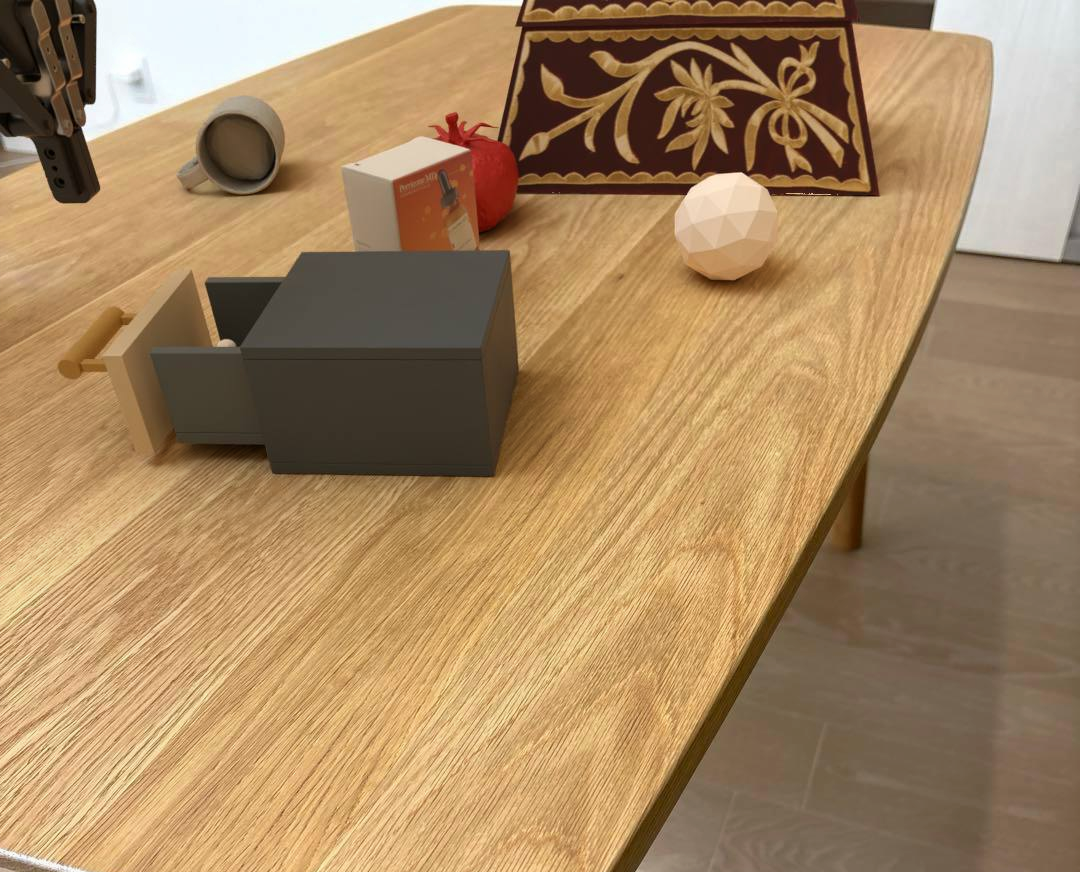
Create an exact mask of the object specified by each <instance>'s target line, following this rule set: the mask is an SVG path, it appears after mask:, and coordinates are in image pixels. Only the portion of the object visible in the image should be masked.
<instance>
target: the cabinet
mask: <svg viewBox="0 0 1080 872" xmlns="http://www.w3.org/2000/svg"><path fill="white" fill-rule="evenodd" d="M284 277H285V278H284V280H283V281H282V283H281V285H280V286H279V288H278V289H277V291H276V292H275V294H274V295H273V297H272V298H271V300H270V301H269V303H268V305H267V306H266V308H265V309H264V311H263V312H262V314H261V315H260V317H259V318H258V320H257V321H256V323H255V324H254V326H253V328H252V329H251V331H250V332H249V334H248V335H247V337H246V338H245V340H244V341H243V343H242V344H241V346H240V350H241V354H242V358H243V363H244V367H245V370H246V374H247V378H248V382H249V386H250V390H251V394H252V397H253V401H254V405H255V409H256V413H257V417H258V421H259V425H260V428H261V432H262V436H263V440H264V444H265V445H264V447H265V451H266V455H267V459H268V463H269V466H270V469H271V473H272V474H303V475H304V474H307V475H308V474H312V475H314V474H316V475H371V476H372V475H373V476H374V475H375V476H376V475H378V476H439V477H441V476H444V477H445V476H446V477H494V476H495V473H496V469H497V465H498V460H499V456H500V452H501V447H502V443H503V438H504V434H505V430H506V425H507V422H508V417H509V412H510V409H511V408H510V407H511V405H512V399H513V397H514V396H513V394H514V392H515V391H514V390H515V386H516V383H517V378H518V374H519V369H520V368H519V353H518V352H519V351H518V340H517V327H516V314H515V313H516V311H515V300H514V299H515V298H514V289H513V287H514V286H513V274H512V262H511V251H510V249H493V250H492V249H487V250H486V249H483V250H481V249H480V250H471V251H361V252H355V251H301V252H300V253H299V255H298V257H297V258H296V260H295V261H294V263H293V265H292V266H291V268H290V269H289V271H288V272H287V274H286V275H285V276H284Z"/></svg>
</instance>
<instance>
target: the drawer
mask: <svg viewBox="0 0 1080 872" xmlns="http://www.w3.org/2000/svg"><path fill="white" fill-rule="evenodd" d="M285 277H286V276H208V277H207V278H206V280H205V281H204V286H205V290H206V293H207V297H208V301H209V304H210V309H211V312H212V316H213V320H214V323H215V326H216V331H217V334H218V338H219V342H220V341H221V340H224V339H229V340H232V341H233V342H235V344H236V346H237V347H216V346H214V345H213V342H212V338H211V334H210V329H209V327H208V323H207V320H206V316H205V312H204V309H203V304H202V301H201V298H200V294H199V291H198V287H197V284H196V280H195V276H194V273H193V269H174V270H173V271H172V272H171V273H170V275H169V276H168V277H167V278H166V279H165V280H164V282H163V283H162V284H161V285H160V287H159V288H158V289H157V290H156V291H155V292H154V293H153V294H152V296H151V297H150V298H149V299H148V300H147V301H146V303H145V304H144V306H143V307H142V308H141V309H140V310H139V312H137V313H132V312H131V313H129V312H128V313H126V312H124V310H123V309H122V308H120V307H118V306H114V305H111V306H108V307H107V308H106V309H104V311H102V313H101V315H99V317H98V318H97V319H96V320H95V321H94V322H93V323H92V324H91V325H90V327H89V328H88V329H87V330H86V331H85V332H84V333H83V334H82V335H81V337H79V339H78V340H77V341H76V342H75V343H74V344H73V345H72V347H71V348H70V349H69V350H68V351H67V352H66V353H65V355H63V357H61V359H60V360H59V361H58V363H57V370H58V372H59V373H60V374H61V375H62V377H64V378H66V379H69V380H77V379H79V378H80V376H81V375H82V374H83V373H107V374H108V377H109V379H110V382H111V385H112V388H113V391H114V393H115V396H116V399H117V402H118V404H119V408H120V410H121V413H122V416H123V419H124V422H125V425H126V427H127V430H128V433H129V436H130V439H131V441H132V445H133V447H134V451H135V453H136V454H138V455H139V454H141V455H145V454H146V455H155V454H156V453H157V452H158V450H159V448H160V447H161V445H162V444H163V442H164V441H165V439H166V438H167V436H168V435H169V433H170V432H171V431H172V429H173V431H174V434H175V437H176V439H177V440H176V441H177V442H178V444H181V445H182V444H184V445H185V444H187V445H188V444H189V445H191V444H192V445H194V444H195V445H199V444H200V445H203V444H204V445H264V446H265V444H264V440H263V436H262V432H261V428H260V425H259V421H258V417H257V413H256V409H255V405H254V401H253V397H252V394H251V390H250V386H249V382H248V378H247V374H246V370H245V367H244V363H243V358H242V354H241V350H240V346H241V344H242V343H243V341H244V340H245V338H246V337H247V335H248V334H249V332H250V331H251V329H252V328H253V326H254V324H255V323H256V321H257V320H258V318H259V317H260V315H261V314H262V312H263V311H264V309H265V308H266V306H267V305H268V303H269V301H270V300H271V298H272V297H273V295H274V294H275V292H276V291H277V289H278V288H279V286H280V285H281V283H282V281H283V280H284V278H285ZM123 326H126V327H125V328H124V329H123V331H121V333H120V334H119V335H118V337H117V338H115V340H114V341H113V342H112V344H110V346H109V347H108V348H107V349H106V351H104V353H103V354H102V356H101V357H102V358H97V357H98V356H99V354H100V353H101V352H102V351H103V350H104V348H106V346H107V345H108V344H109V342H111V340H112V339H113V338H114V337H115V336H116V335H117V333H118V332H119V331H120V330H121V329H122V327H123Z"/></svg>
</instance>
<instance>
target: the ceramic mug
mask: <svg viewBox="0 0 1080 872" xmlns="http://www.w3.org/2000/svg"><path fill="white" fill-rule="evenodd" d="M285 145H286V134H285V129H284V126H283V122H282V119H281V118H280V116H279V115H278V113H277V112H276V110H274V108H273V107H272V106H271V105H270V104H268V103H267V102H265V101H264V100H263V99H260V98H258V97H256V96H253V95H244V94H243V95H234V96H231V97H228V98H226V99H223V100H222V101H221V102H220V103H219V104H217V106H215V107H214V109H213V110H212V112H211V113H210V114H209V116H208V117H207V118H206V119H205V121H203V123H202V125H201V127H199V130H198V132H197V135H196V140H195V154H196V155H195V156H193V157H192V158H191V159H190V160H189V161H187V162H186V163H185V164H184V165H182V167H181V168H180V169H179V170H178V171H177V172H176V178H177V179H178V180H179V182H180V183H181V185H182V186H183V187H184V188H185V189H192V188H196V187H198V186H199V185H201V184H203V183H205V182H206V181H208V180H209V181H210V182H211V183H212V184H213V185H215V186H216V187H217V188H219V189H221V190H223V191H225V192H227V193H230V194H235V195H252V194H255V193H256V194H257V193H258V192H261V191H262V190H264V189H266V188H267V187H268V186H270V185H271V183H272V182H273V181H274V179H276V176H277V175H278V172H279V168H280V167H281V166H280V165H281V161H282V157H283V154H284V150H285Z"/></svg>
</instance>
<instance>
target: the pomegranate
mask: <svg viewBox="0 0 1080 872" xmlns="http://www.w3.org/2000/svg"><path fill="white" fill-rule="evenodd" d="M444 119H445V120H444V121H445V123H446V124H447V125H448V127H447V128H448V131H447V130H446V129H444V128H443V127H442V126H441V125H437V124H432V125H427V128H434V129H435V130H436V132H437V133H438V135H439V136H437V137H430V138H431V139H435V140H438V141H442V142H446V143H449V144H453V145H457V146H460V147H464V148H467V149H470V150H471V153H472V164H473V177H474V187H475V198H476V210H477V221H478V232H479V233H483V232H486V231H488V230H490V229H494V228H495V226H496V225H497V224H498V223H499V222H500V221H502V220H503V219H504V218H505V217H506V216H507V215H508V214H509V212H510V210H512V209H513V207H514V203H515V199H516V195H517V193H516V192H517V187H518V169H517V163H516V161H515V156H514V154H513V152H512V151H511V149H510V148H509V147H508V146H507V145H506V144H504V143H502V142H499V141H497V139H496V140H495V139H492V138H490V137H488V135H484V134H479V133H477V131H478V130H479V129H480V128H481V127H483V128H491V129H500V126H493V125H491V124H488V123H486V122H481V121H480V122H479V123H477V124H475V125H474V126H472V127H470V128H469V129H468V130H465V125H467V124H468V122H467V121H465V120H462V121H461V122H460V124H459V125H458V121H459V113H458V112H457V111H454V112H449V113H448V114H446V115H445V118H444Z"/></svg>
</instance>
